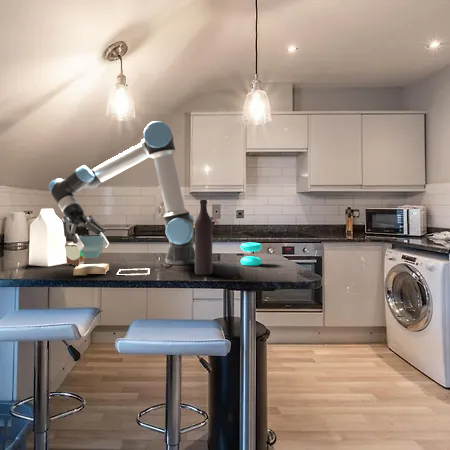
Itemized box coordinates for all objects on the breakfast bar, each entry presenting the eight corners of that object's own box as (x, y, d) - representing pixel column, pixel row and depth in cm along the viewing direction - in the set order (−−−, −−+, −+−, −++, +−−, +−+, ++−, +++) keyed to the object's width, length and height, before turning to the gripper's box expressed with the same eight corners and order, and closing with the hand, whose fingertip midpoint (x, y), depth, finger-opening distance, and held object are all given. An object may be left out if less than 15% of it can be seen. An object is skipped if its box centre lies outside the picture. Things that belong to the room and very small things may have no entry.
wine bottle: (214, 275, 152) (214, 199, 151) (196, 276, 150) (196, 199, 149) (209, 272, 159) (209, 199, 157) (193, 272, 157) (193, 199, 155)
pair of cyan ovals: (257, 245, 172) (237, 244, 177) (257, 267, 173) (237, 265, 177) (265, 243, 181) (245, 242, 186) (264, 263, 182) (245, 262, 186)
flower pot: (79, 256, 160) (79, 234, 159) (101, 255, 163) (101, 234, 162) (79, 259, 152) (79, 236, 151) (102, 258, 155) (102, 236, 154)
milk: (48, 266, 172) (47, 208, 171) (28, 265, 176) (27, 208, 175) (67, 262, 184) (66, 208, 182) (49, 261, 188) (47, 208, 186)
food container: (92, 264, 179) (92, 243, 178) (81, 266, 174) (81, 244, 173) (75, 262, 185) (75, 241, 185) (64, 263, 180) (64, 242, 180)
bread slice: (108, 269, 165) (108, 263, 164) (105, 274, 153) (105, 267, 153) (79, 270, 162) (79, 264, 162) (73, 275, 151) (73, 268, 151)
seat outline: (149, 269, 165) (149, 268, 165) (149, 274, 152) (149, 273, 152) (119, 270, 163) (119, 269, 163) (116, 275, 150) (116, 274, 150)
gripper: (90, 214, 175) (113, 250, 167) (41, 215, 155) (64, 256, 147) (98, 203, 172) (122, 239, 164) (48, 202, 152) (73, 243, 144)
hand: (95, 247), depth 156 cm, fingers closed on flower pot, 12 cm apart
